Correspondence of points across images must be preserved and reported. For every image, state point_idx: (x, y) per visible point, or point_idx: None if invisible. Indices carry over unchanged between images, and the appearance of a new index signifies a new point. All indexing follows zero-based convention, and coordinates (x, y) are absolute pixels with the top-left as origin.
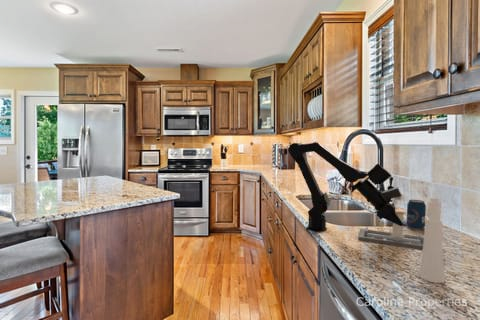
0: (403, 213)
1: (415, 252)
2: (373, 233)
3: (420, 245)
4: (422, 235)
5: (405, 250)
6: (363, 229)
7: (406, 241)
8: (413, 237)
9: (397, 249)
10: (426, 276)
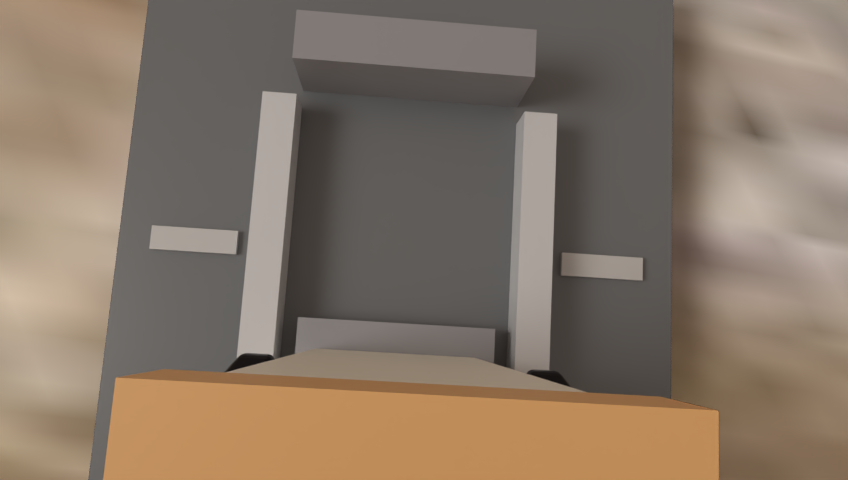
0: (684, 422)
1: (823, 244)
2: None
3: (659, 138)
4: (366, 19)
5: (806, 361)
6: None
7: (552, 309)
8: (295, 163)
9: (819, 466)
10: None
